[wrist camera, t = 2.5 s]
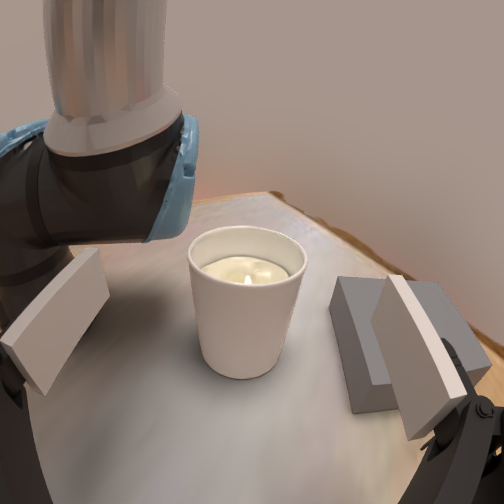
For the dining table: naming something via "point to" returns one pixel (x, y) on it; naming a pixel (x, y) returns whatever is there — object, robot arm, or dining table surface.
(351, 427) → the dining table surface
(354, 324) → the riser block
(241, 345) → the candle holder
